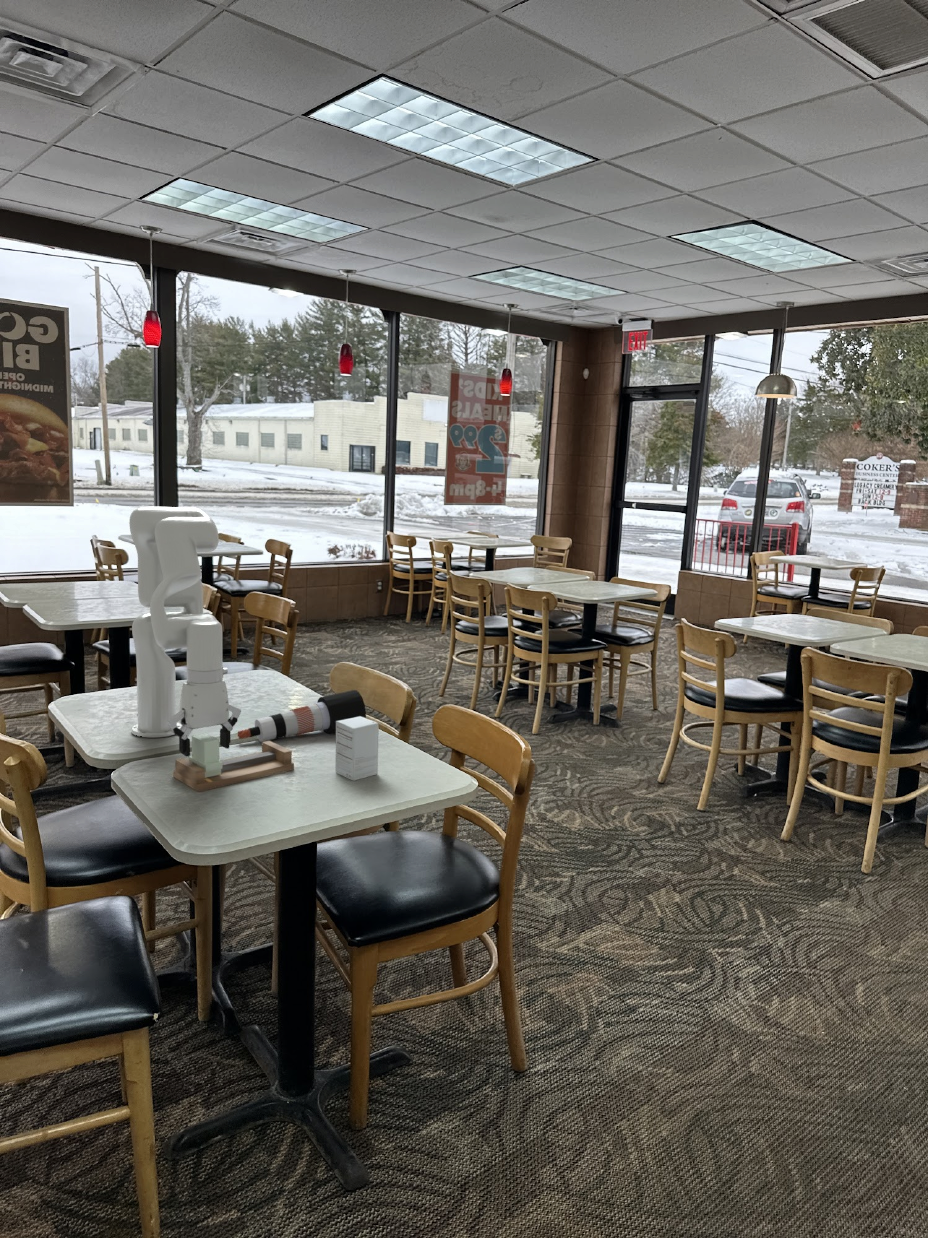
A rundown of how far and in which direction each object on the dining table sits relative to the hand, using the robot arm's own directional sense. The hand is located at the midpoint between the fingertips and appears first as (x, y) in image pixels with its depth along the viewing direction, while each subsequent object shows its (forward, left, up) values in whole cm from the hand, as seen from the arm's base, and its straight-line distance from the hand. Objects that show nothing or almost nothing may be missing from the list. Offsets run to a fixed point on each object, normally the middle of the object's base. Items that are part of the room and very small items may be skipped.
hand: (205, 750), depth 192 cm
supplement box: (+17, +29, -7) cm, 35 cm away
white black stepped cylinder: (-16, +36, -7) cm, 40 cm away
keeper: (0, 0, -5) cm, 5 cm away
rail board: (0, +7, -7) cm, 10 cm away
